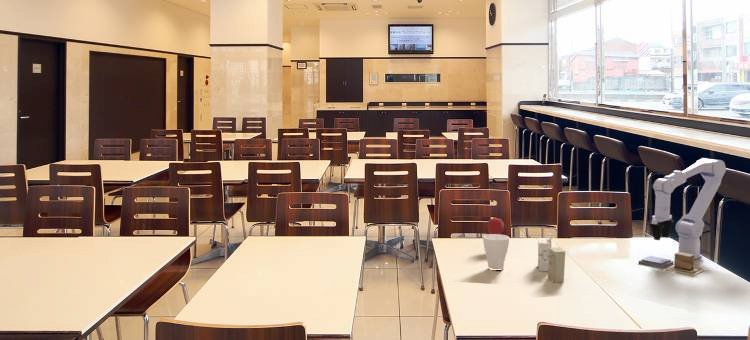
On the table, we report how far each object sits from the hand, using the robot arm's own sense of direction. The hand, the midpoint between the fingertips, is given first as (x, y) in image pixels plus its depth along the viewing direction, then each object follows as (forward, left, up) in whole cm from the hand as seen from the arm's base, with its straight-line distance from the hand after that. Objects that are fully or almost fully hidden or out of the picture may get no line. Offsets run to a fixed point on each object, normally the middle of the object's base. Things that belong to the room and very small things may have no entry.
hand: (661, 238), depth 262 cm
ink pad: (+7, +2, -9) cm, 12 cm away
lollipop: (+38, -58, -10) cm, 70 cm away
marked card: (+7, +14, -9) cm, 18 cm away
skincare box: (+57, -14, -10) cm, 59 cm away
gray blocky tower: (+47, -26, -10) cm, 55 cm away
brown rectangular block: (+7, +13, -9) cm, 17 cm away
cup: (+62, -39, -10) cm, 74 cm away
